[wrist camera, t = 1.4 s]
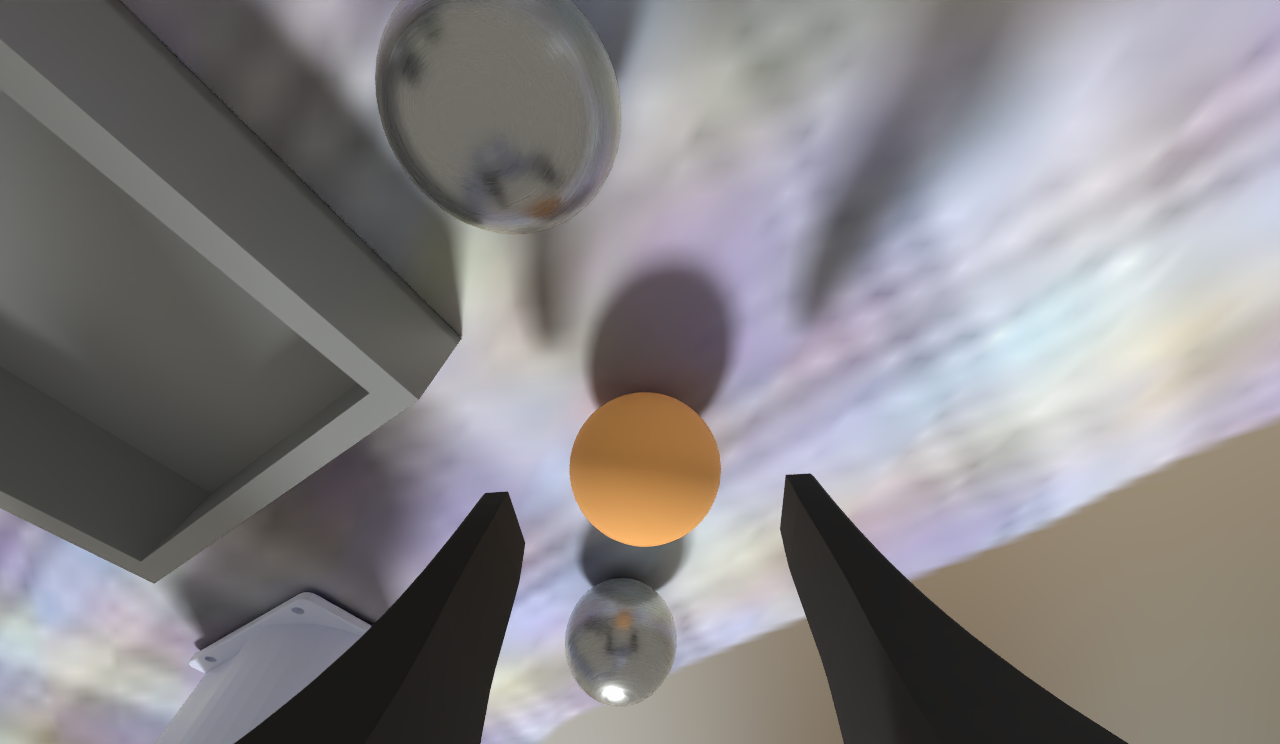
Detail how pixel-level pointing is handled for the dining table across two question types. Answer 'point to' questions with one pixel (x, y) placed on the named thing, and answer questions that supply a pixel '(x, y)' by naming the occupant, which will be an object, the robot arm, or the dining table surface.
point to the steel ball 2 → (620, 642)
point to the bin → (172, 300)
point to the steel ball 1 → (499, 108)
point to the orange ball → (645, 469)
